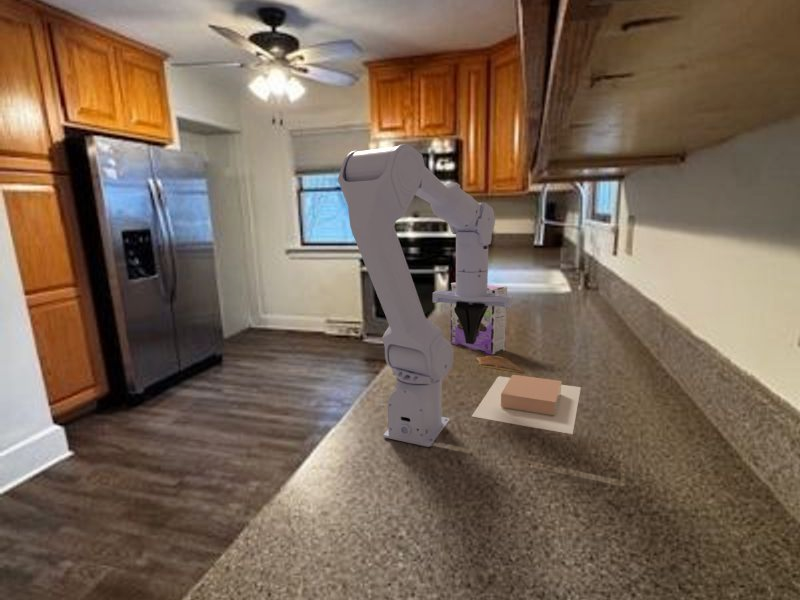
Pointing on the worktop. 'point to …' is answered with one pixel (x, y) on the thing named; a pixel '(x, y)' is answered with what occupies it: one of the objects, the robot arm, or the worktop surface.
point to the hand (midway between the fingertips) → (470, 342)
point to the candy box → (483, 326)
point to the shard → (498, 363)
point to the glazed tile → (531, 394)
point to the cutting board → (558, 423)
